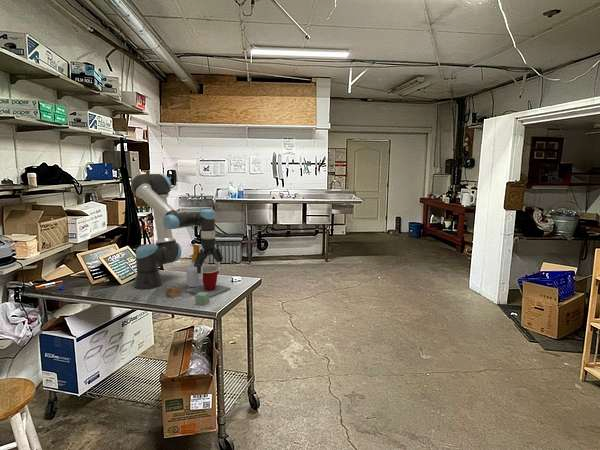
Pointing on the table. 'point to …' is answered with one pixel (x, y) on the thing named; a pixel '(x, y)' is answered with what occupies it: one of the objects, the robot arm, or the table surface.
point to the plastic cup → (210, 277)
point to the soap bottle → (193, 270)
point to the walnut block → (173, 291)
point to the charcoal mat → (212, 293)
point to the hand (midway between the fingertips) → (209, 275)
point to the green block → (202, 298)
